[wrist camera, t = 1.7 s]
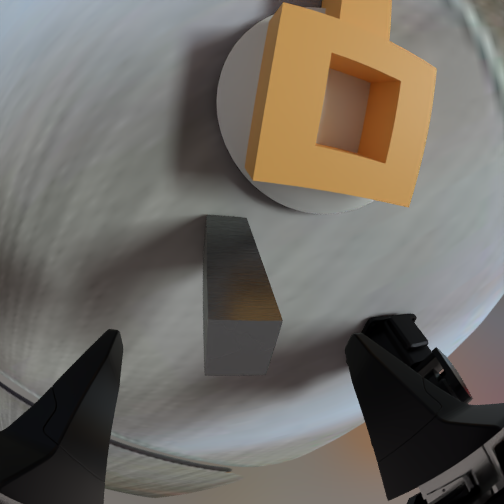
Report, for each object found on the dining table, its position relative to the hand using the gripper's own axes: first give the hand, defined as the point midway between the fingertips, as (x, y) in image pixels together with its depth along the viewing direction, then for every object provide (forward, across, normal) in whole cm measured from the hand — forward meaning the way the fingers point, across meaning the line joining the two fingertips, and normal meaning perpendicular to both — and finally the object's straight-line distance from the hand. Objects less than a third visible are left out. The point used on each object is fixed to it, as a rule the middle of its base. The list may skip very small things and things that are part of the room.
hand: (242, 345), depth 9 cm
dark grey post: (+9, 0, 0) cm, 9 cm away
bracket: (+9, -5, -12) cm, 16 cm away
